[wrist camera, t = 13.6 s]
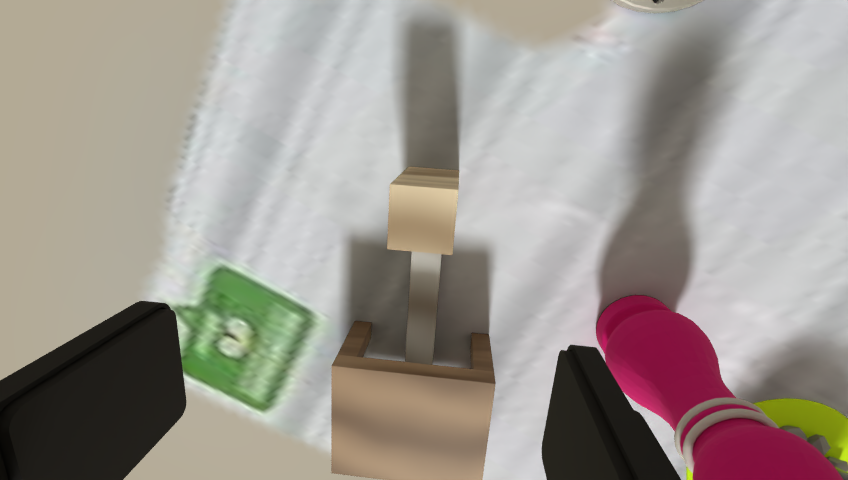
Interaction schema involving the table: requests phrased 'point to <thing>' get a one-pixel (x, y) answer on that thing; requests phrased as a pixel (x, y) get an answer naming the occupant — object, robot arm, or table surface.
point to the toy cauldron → (811, 428)
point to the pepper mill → (698, 398)
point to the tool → (423, 246)
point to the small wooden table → (410, 414)
